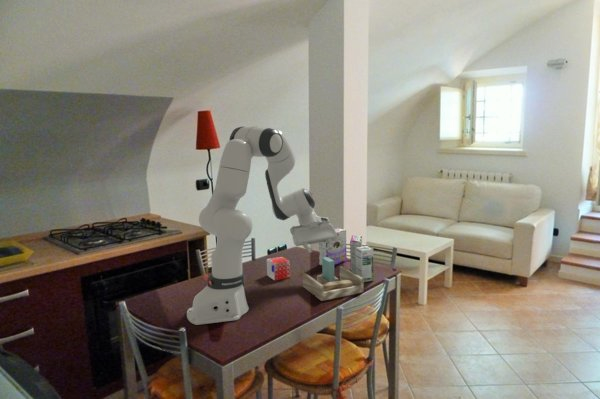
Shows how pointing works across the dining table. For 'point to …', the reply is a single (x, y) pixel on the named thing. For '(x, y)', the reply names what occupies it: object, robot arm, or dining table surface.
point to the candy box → (334, 248)
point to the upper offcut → (336, 285)
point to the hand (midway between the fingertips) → (320, 250)
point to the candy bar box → (354, 250)
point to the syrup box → (364, 263)
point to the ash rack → (345, 274)
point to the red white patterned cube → (278, 268)
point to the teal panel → (328, 269)
